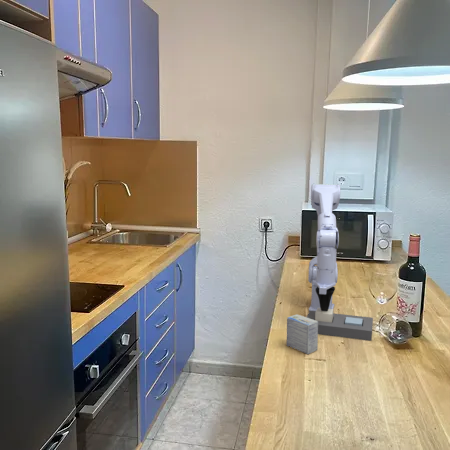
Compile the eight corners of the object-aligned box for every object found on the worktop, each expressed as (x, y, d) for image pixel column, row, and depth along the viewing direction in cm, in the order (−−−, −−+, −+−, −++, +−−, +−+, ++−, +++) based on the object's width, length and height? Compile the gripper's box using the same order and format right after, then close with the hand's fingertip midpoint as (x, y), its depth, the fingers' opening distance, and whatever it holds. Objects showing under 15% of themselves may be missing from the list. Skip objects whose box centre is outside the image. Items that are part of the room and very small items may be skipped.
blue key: (345, 326, 147) (346, 316, 147) (362, 327, 146) (362, 318, 145) (344, 331, 143) (344, 322, 142) (361, 333, 141) (361, 324, 141)
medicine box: (317, 350, 130) (319, 321, 129) (307, 355, 127) (308, 324, 126) (296, 342, 136) (296, 313, 135) (285, 346, 133) (286, 317, 132)
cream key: (317, 316, 150) (317, 307, 149) (333, 318, 148) (333, 309, 148) (315, 321, 145) (315, 312, 145) (331, 323, 144) (331, 314, 143)
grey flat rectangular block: (309, 319, 154) (309, 310, 154) (372, 326, 148) (372, 317, 148) (303, 332, 143) (303, 322, 143) (371, 340, 137) (371, 331, 136)
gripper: (316, 261, 152) (314, 302, 154) (309, 272, 139) (308, 316, 141) (338, 263, 150) (336, 304, 152) (333, 274, 136) (332, 318, 138)
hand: (324, 310), depth 146 cm, fingers closed
